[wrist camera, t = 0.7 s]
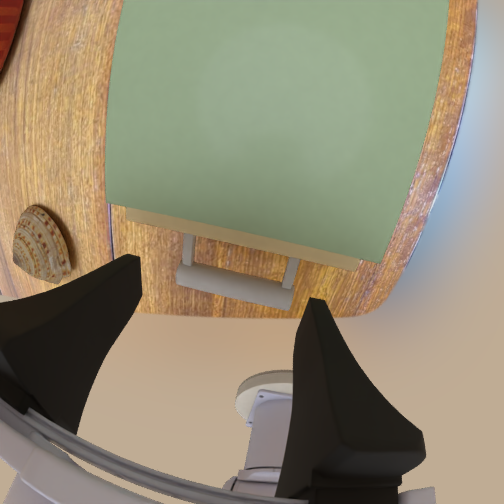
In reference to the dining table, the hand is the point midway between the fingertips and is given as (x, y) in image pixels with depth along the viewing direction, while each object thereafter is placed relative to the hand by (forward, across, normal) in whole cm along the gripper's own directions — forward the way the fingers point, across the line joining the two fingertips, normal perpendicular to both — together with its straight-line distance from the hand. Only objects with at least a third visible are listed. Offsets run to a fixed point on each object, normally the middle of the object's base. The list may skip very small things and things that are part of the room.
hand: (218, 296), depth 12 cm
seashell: (+11, +21, +8) cm, 25 cm away
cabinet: (+10, 0, -9) cm, 14 cm away
